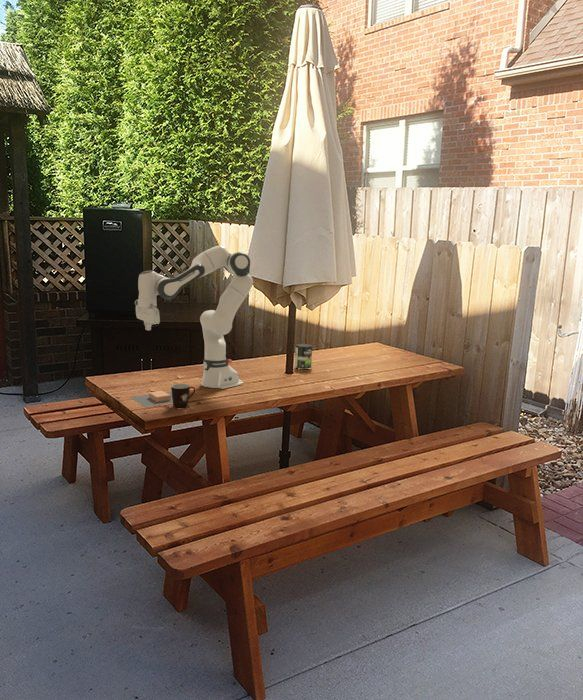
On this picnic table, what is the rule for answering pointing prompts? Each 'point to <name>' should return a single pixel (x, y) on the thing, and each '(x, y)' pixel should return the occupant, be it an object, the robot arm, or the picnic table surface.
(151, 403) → the mat
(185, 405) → the coffee mug
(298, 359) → the coffee can
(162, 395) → the light orange block
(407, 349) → the picnic table surface
